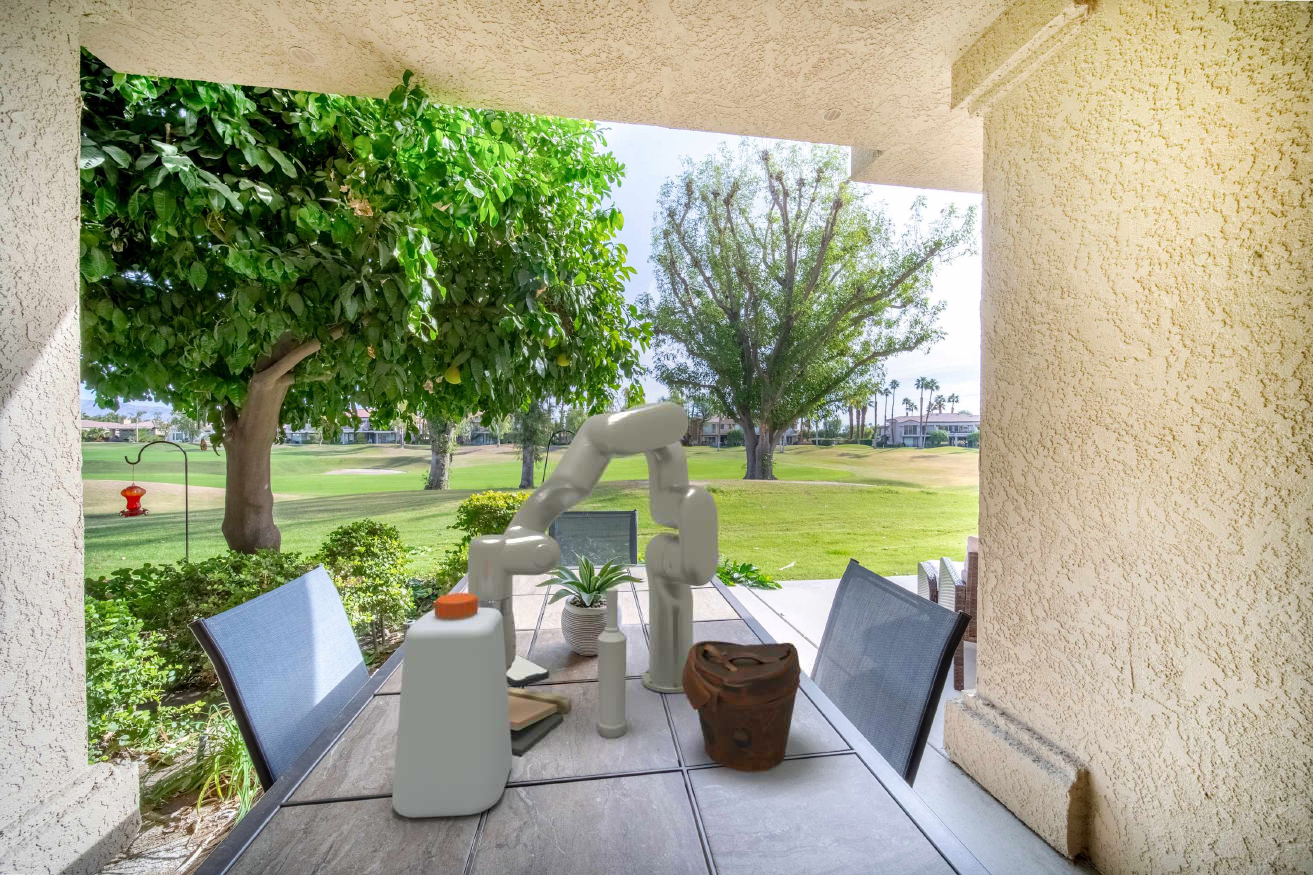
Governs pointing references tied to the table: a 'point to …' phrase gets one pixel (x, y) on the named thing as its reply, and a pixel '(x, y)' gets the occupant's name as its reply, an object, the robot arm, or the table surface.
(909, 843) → the table surface
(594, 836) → the table surface
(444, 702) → the plastic bottle
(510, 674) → the phone case
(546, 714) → the tile
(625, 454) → the robot arm
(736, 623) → the table surface
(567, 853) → the table surface
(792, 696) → the case
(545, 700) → the tile stand
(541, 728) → the rubber mat
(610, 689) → the bottle
